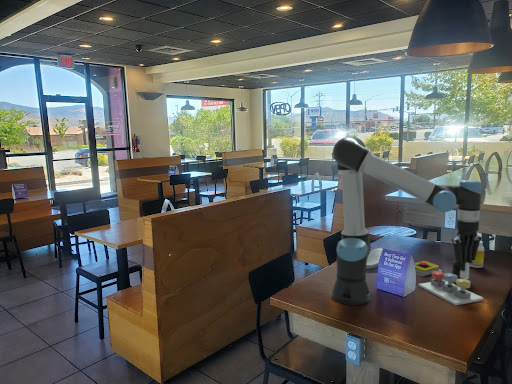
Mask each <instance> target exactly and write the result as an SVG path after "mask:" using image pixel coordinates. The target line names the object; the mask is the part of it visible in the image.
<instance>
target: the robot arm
mask: <svg viewBox="0 0 512 384" xmlns="http://www.w3.org/2000/svg"><path fill="white" fill-rule="evenodd" d="M332 155H333V159H334V160H335V162H336V164H337V165H336V166H337V167H336V168H337V171H338V172H339V173H340V174H341V175H340V176H341V188H342V190H341V191H342V205H343V206H342V207H343V224H344V225H343V226H344V228H343V229H342V230H341V233H340V234H341V240H339V241H338V242H337V245H336V278H335V281H334V284H333V287H332V289H331V297H332V299H333V300H334V301H336V302H338V303H341V304H344V305H348V306H349V305H350V306H361V305H365V304H366V303H369V301H370V298H371V294H370V290H369V287H368V282H367V269H366V263H367V259H368V255H369V253H370V251H372V250H371V249H372V245H371V240H370V232H369V230H368V229H367V228H366V225H365V224H366V223H365V221H366V220H365V204H364V202H365V201H364V184H363V183H364V182H363V181H364V179H363V173H364V174H366V175H368V176H370V177H373V178H375V179H377V180H379V181H381V182H383V183H385V184H387V185H389V186H391V187H394V188H395V189H397V190H399V191H401V192H403V193H406V194H408V195H410V196H412V197H413V198H416V199H418V200H420V201H422V202H424V203H426V204H428V205H430V206H432V207H434V208H435V210H438V211H439V212H441V213H447V212H450V211H452V210H453V209H455V207H456V206H457V220H456V230H457V231H458V232H457V234H456V237H455V238H454V237H452V238H451V242H452V243H453V249H454V251H453V252H454V257H455V258H456V259H455V260H456V261H459V262H460V277H461V278H463V279H468V278H469V279H470V275H469V270H470V271H471V266H470V263H473V261H474V260H475V258H476V254H477V250H478V247H479V243H480V241H482V239H483V238H482V236H480V235H478V231H479V228H480V215H481V213H480V212H481V201H482V182H480V181H479V180H474V179H461V180H460V181H459V184H457V185H456V184H455V185H450V184H449V185H448V184H435V183H434V182H431V181H430V180H427V179H425V178H423V177H421V176H419V175H417V174H415V173H412V172H410V171H408V170H407V169H404V168H402V167H400V166H398V165H396V164H394V163H392V162H390V161H388V160H385V159H383V158H381V157H379V156H376V155H374V154H373V152H372V151H371V150H370V149H368V148H366V145H365V143H364V142H363V141H362V140H361V139H360V138H358V137H355V136H348V137H343V138H341V139H339V140H338V141H337V142H336V143H335V144H334V146H333V149H332ZM472 256H473V257H472Z"/></svg>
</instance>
